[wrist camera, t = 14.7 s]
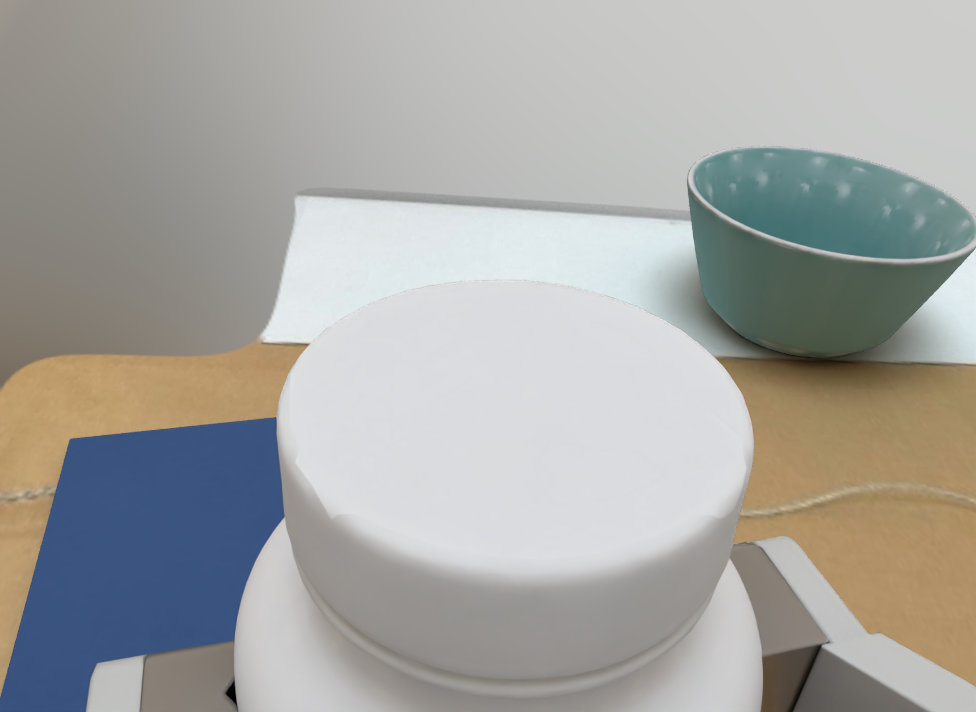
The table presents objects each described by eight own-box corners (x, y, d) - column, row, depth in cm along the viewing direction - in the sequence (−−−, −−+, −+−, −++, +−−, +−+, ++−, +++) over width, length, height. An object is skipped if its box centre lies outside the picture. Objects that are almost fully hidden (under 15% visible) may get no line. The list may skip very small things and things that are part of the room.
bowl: (924, 292, 54) (972, 173, 49) (935, 427, 42) (1000, 286, 37) (688, 242, 59) (712, 128, 54) (637, 350, 46) (661, 216, 42)
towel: (-59, 942, 21) (-65, 934, 21) (72, 446, 37) (69, 438, 37) (654, 781, 26) (656, 772, 25) (497, 401, 42) (497, 393, 41)
